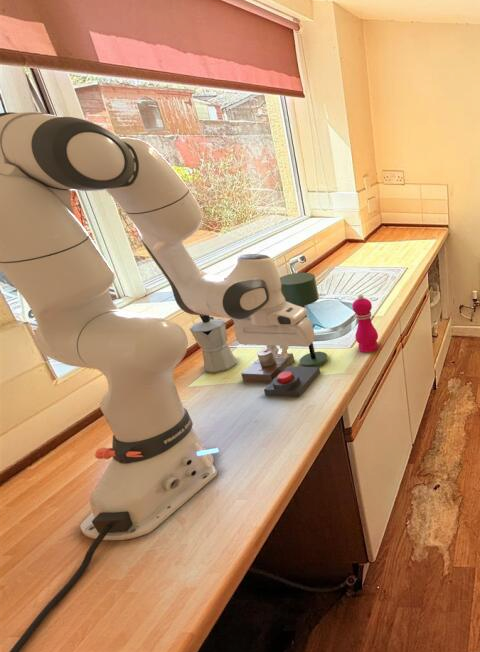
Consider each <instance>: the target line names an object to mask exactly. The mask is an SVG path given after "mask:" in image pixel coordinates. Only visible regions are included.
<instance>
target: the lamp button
mask: <svg viewBox="0 0 480 652" xmlns="http://www.w3.org/2000/svg"><path fill="white" fill-rule="evenodd" d="M292 379H293V376H292V373H291V372H290V371H285V372H282V373H280V374H279V375H278V380H279V383H286V382H289V381H291V380H292Z"/></svg>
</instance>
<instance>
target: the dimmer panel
mask: <svg viewBox="0 0 480 652" xmlns="http://www.w3.org/2000/svg"><path fill="white" fill-rule="evenodd" d="M287 353H288V356H287V357H286V358H275V363H274V364H272V365H270V366H261V365H260V361H259V358H257V359H256V360H255V361H253V363H251V364H250V365H249V366H248V367H247V368H246V369H245V370H243V371H242V372H241V373H240V375H241V378H242V382H243V383H258V384H259V383H261V384H270V383H271V382H272V381H273V379H274V378H276V377H277V376H278V375H279V374H280V373H281V372H282V371H283V370H284V369H285V368H286V367H287V366H293V364H294V363H295V357H294V353H289V352H287Z"/></svg>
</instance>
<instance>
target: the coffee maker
mask: <svg viewBox="0 0 480 652" xmlns="http://www.w3.org/2000/svg"><path fill="white" fill-rule="evenodd" d="M199 319H201V321H199V322H196V323H194V324H193V325H192V326H191V327H190V328H189V330H190V332H191V334H192V336H193V338H194V340H195V341H196V343H197V345H198V347H199V348H201V349H202V358H203V366H204V371H205V373H210V374H211V373H212V374H216V373H217V374H218V373H220V372H225V371H228V370H230V369H231V368H232V367H235V366H236V365H237V359H236V356H235V355H234V354H233V352H232V350H231V348H230V347H229V344H228V342H227V341H228V335H227V334H228V333H227V327H226V320H223V319H222V318H214V316H209V315H199Z"/></svg>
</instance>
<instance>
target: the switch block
mask: <svg viewBox="0 0 480 652" xmlns="http://www.w3.org/2000/svg"><path fill="white" fill-rule="evenodd" d="M285 371H290V372H291V373H292V376H293V379H292V380H291V381H289V382H286V383H279V380H278V376H277V377H276V378H274V379H273V381H272V382H271V383H268V384H267V386H266V387H264V389H263V391H264V395H265V396H266V397H283V398H284V397H286V398H288V397H289V398H301V397H302V396H303V394H304V393H306V391H307V390H308V389H309V387H311V385H312V384H313V383H314V382H315V380H317V378H318V377H319V376H320V375H321V368H320V367H301V366H295V365H294V366H293V365H291V366H287V367H286V368H285V369H284V370H283V371H282V372H285ZM282 372H281V373H282Z"/></svg>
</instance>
